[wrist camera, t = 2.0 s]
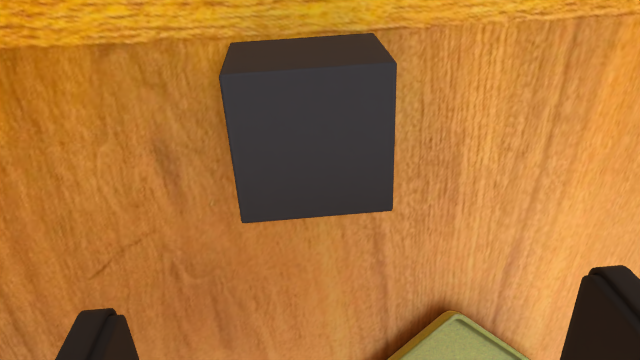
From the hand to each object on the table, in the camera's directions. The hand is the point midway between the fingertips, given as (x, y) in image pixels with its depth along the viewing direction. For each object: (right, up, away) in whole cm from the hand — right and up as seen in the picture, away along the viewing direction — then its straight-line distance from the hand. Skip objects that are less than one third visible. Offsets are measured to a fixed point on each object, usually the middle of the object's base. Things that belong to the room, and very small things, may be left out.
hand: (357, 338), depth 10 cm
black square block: (-1, +7, +12) cm, 13 cm away
